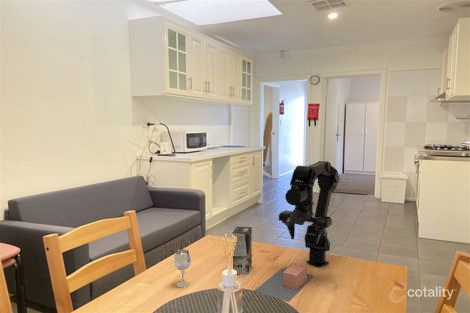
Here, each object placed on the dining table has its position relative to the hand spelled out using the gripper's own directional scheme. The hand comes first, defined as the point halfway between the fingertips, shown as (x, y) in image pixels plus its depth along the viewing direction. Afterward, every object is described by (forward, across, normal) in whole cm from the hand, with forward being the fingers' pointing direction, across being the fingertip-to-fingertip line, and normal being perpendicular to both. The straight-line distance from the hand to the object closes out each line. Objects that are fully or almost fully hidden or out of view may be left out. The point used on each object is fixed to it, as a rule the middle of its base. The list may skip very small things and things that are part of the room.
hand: (304, 241), depth 126 cm
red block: (+10, 0, -4) cm, 11 cm away
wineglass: (+13, -33, -30) cm, 47 cm away
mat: (+13, -3, -10) cm, 17 cm away
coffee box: (+13, -22, -9) cm, 27 cm away
